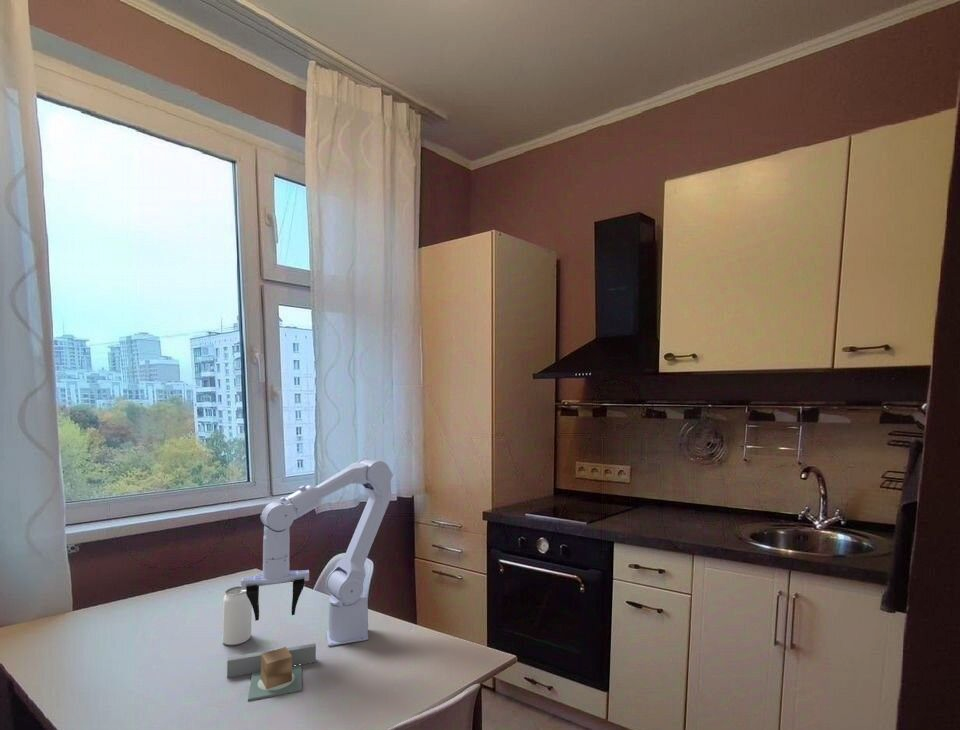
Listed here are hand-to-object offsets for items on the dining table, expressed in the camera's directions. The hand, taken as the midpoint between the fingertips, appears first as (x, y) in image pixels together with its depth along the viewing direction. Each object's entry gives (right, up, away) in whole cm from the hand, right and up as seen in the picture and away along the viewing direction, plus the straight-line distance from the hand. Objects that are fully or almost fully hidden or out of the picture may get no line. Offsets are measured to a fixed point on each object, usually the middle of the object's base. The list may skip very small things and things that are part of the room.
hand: (275, 616), depth 116 cm
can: (-13, -10, +8) cm, 19 cm away
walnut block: (+4, -8, -10) cm, 14 cm away
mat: (+5, -9, -11) cm, 15 cm away
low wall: (+1, -9, -5) cm, 10 cm away
